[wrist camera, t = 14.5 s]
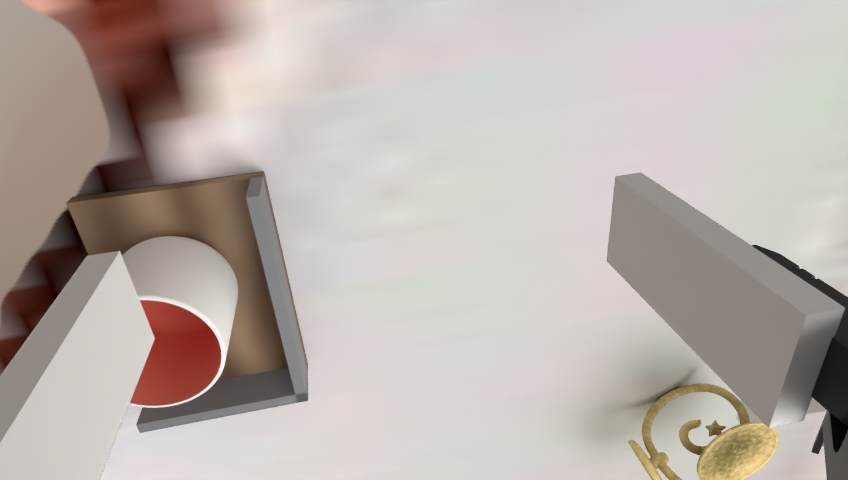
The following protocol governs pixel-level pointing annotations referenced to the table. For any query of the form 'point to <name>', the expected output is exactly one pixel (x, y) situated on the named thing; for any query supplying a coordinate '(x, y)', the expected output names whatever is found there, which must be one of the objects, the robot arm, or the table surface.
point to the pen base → (210, 224)
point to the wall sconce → (712, 442)
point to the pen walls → (259, 386)
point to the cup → (182, 317)
